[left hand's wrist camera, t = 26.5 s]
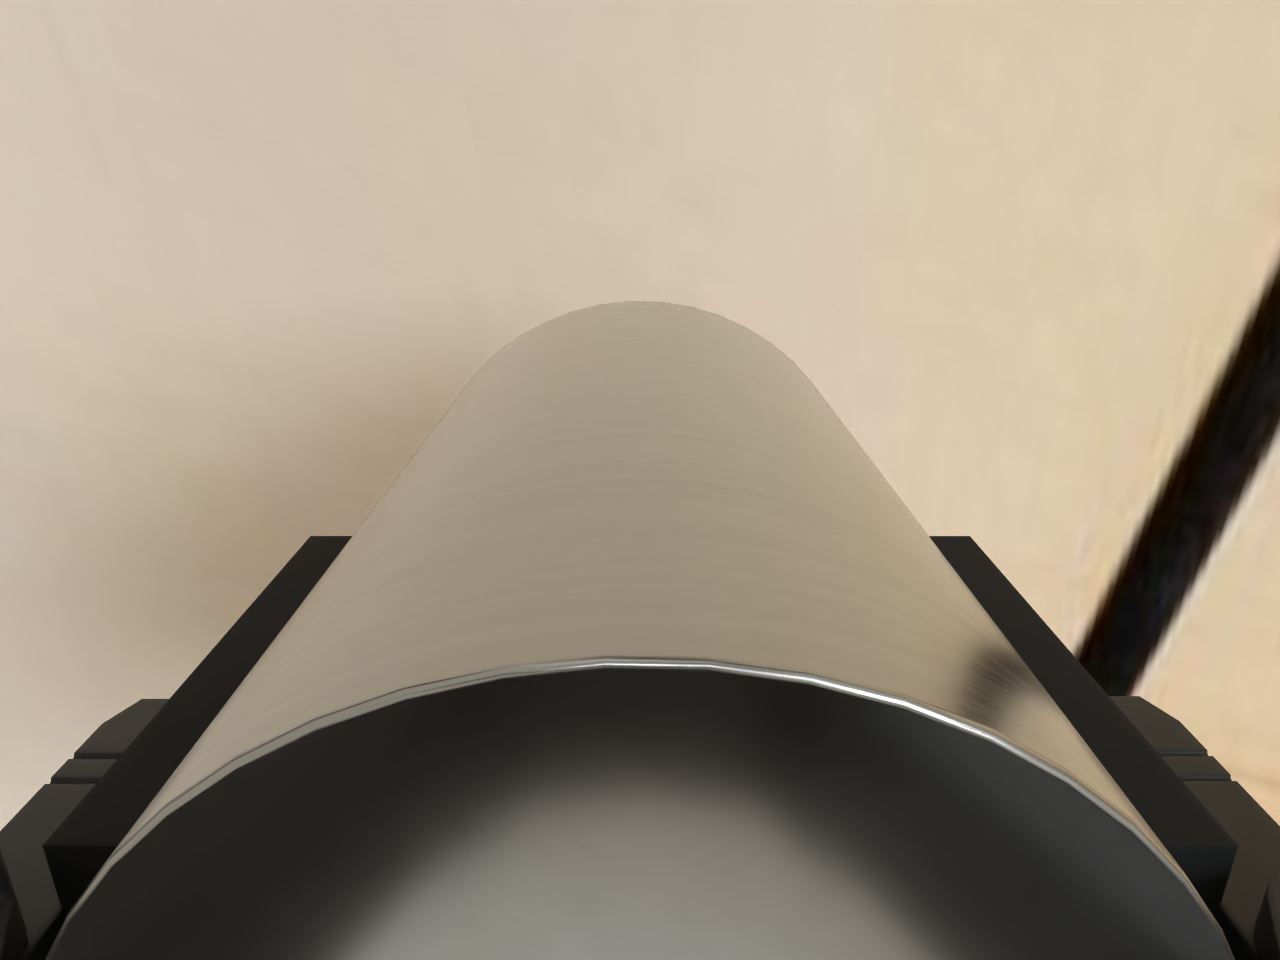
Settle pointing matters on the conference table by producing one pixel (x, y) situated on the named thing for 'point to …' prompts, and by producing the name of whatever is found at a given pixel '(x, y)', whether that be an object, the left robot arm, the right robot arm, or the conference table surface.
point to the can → (640, 709)
